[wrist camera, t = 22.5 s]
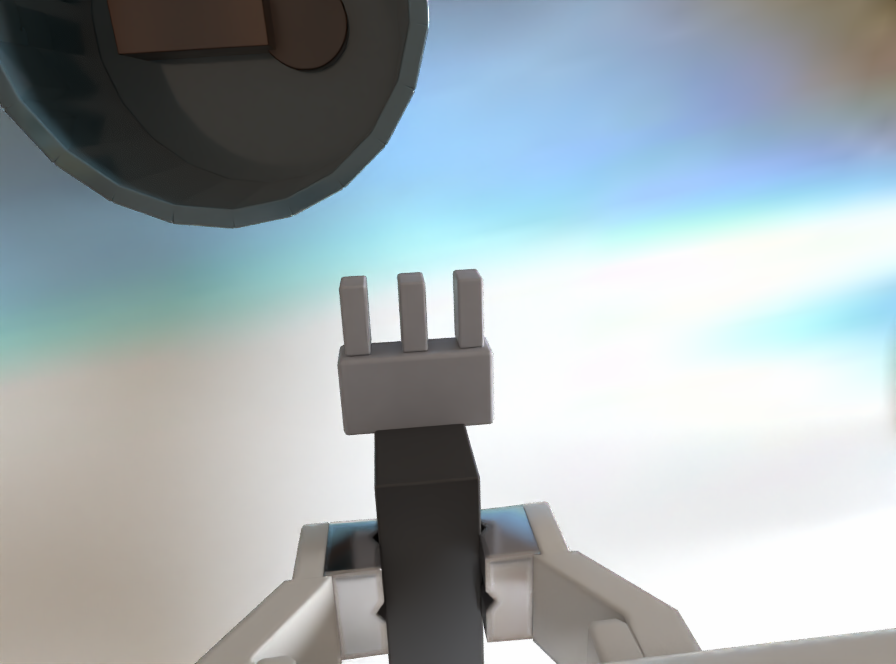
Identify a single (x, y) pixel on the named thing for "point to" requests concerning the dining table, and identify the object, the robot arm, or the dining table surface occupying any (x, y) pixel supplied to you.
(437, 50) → the dining table surface
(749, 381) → the dining table surface
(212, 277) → the dining table surface
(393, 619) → the two-tone pronged bar
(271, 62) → the blue-grey round hollow container
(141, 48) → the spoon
